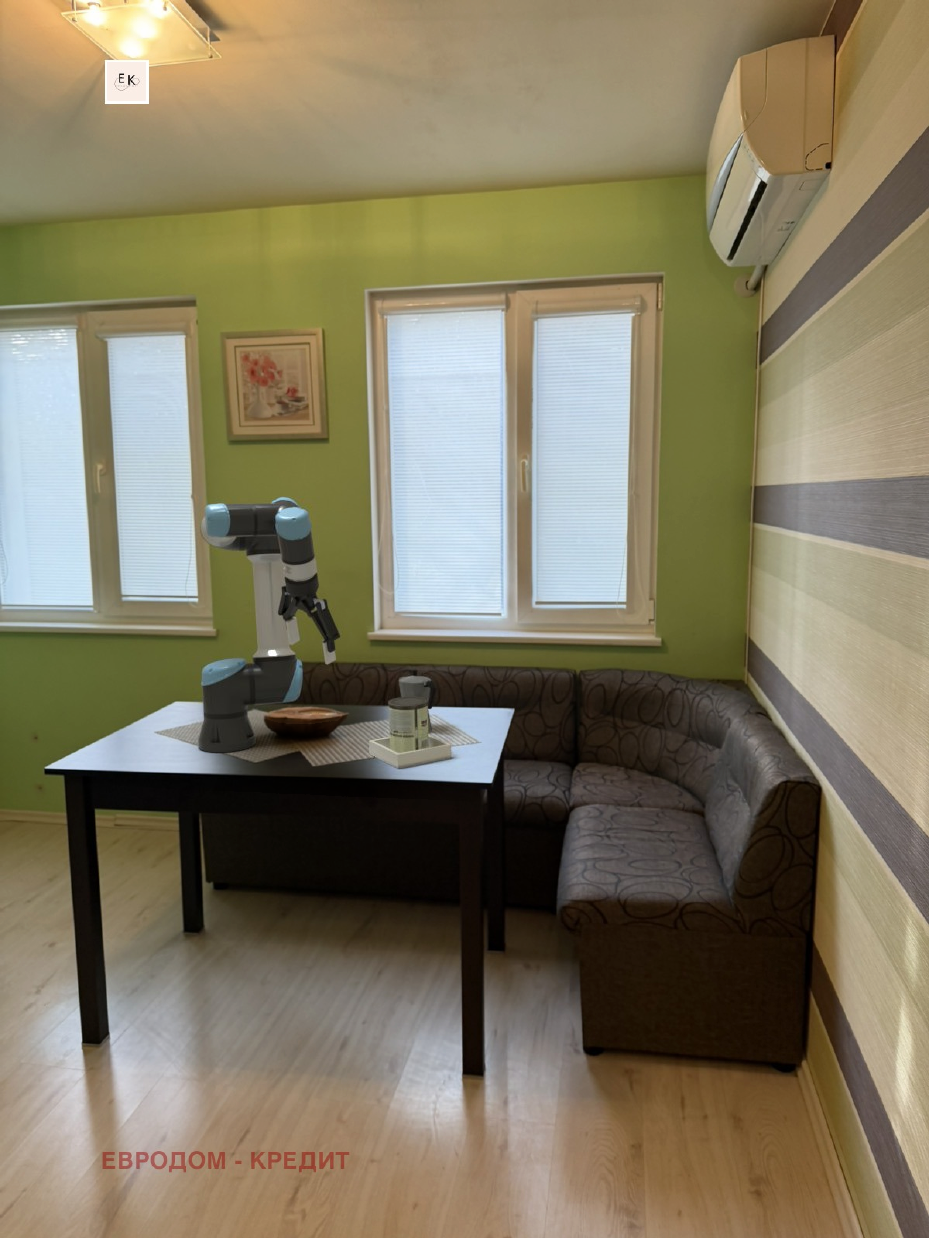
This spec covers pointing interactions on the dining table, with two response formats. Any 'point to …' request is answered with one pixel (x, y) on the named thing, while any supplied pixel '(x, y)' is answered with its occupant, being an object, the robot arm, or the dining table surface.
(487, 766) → the dining table surface
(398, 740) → the coffee can
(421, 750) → the tray
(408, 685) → the coffeepot
